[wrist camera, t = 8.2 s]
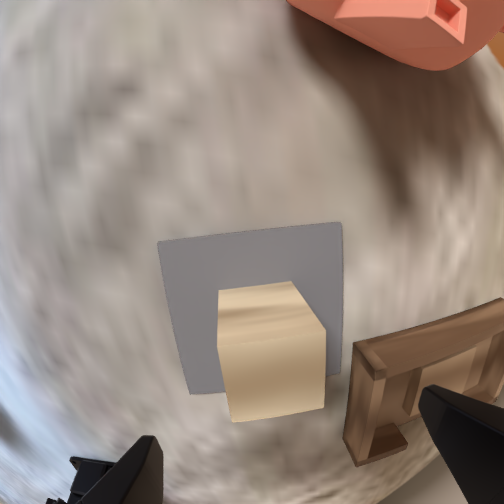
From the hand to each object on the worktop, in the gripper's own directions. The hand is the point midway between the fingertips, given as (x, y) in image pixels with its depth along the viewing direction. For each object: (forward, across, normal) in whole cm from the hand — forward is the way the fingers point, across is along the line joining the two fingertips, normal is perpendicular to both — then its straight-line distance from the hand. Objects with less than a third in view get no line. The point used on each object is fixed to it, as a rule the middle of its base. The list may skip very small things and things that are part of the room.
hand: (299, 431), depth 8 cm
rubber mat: (+9, 0, 0) cm, 9 cm away
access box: (+9, -14, +8) cm, 19 cm away
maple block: (+9, 0, 0) cm, 9 cm away
